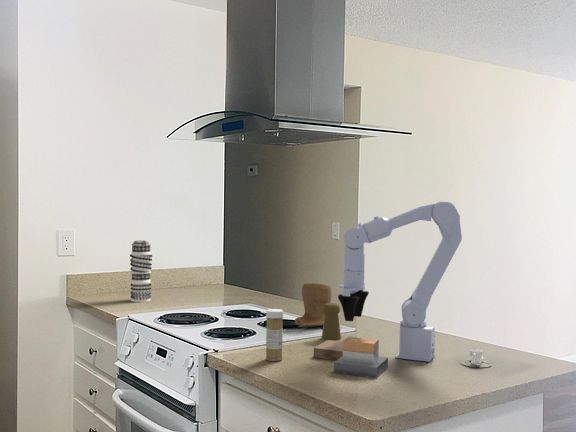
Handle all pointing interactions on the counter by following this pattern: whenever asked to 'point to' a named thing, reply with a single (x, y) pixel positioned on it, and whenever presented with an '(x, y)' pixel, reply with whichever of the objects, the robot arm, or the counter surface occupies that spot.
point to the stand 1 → (329, 350)
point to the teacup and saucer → (476, 356)
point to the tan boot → (314, 304)
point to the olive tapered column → (331, 322)
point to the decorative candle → (140, 271)
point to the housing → (360, 350)
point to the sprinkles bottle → (274, 334)
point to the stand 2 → (361, 367)
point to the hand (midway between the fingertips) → (353, 318)
